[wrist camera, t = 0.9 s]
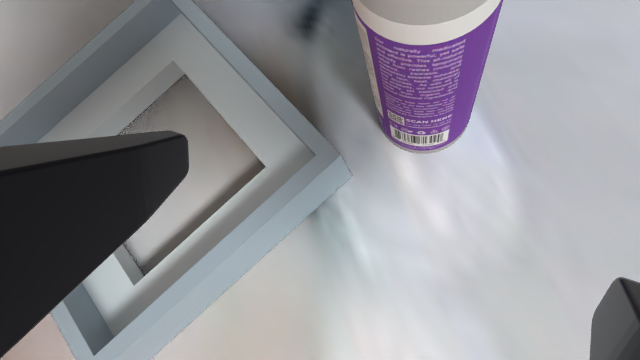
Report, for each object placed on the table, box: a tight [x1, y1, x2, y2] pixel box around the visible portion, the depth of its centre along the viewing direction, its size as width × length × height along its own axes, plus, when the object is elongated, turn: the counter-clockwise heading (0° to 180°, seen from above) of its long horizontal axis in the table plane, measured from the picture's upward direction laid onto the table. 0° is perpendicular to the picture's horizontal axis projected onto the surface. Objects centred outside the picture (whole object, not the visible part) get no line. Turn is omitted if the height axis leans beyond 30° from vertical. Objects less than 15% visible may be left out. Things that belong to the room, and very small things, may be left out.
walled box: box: [0, 0, 352, 360], centre depth 23 cm, size 15×15×4 cm
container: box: [352, 0, 503, 154], centre depth 16 cm, size 5×5×15 cm
